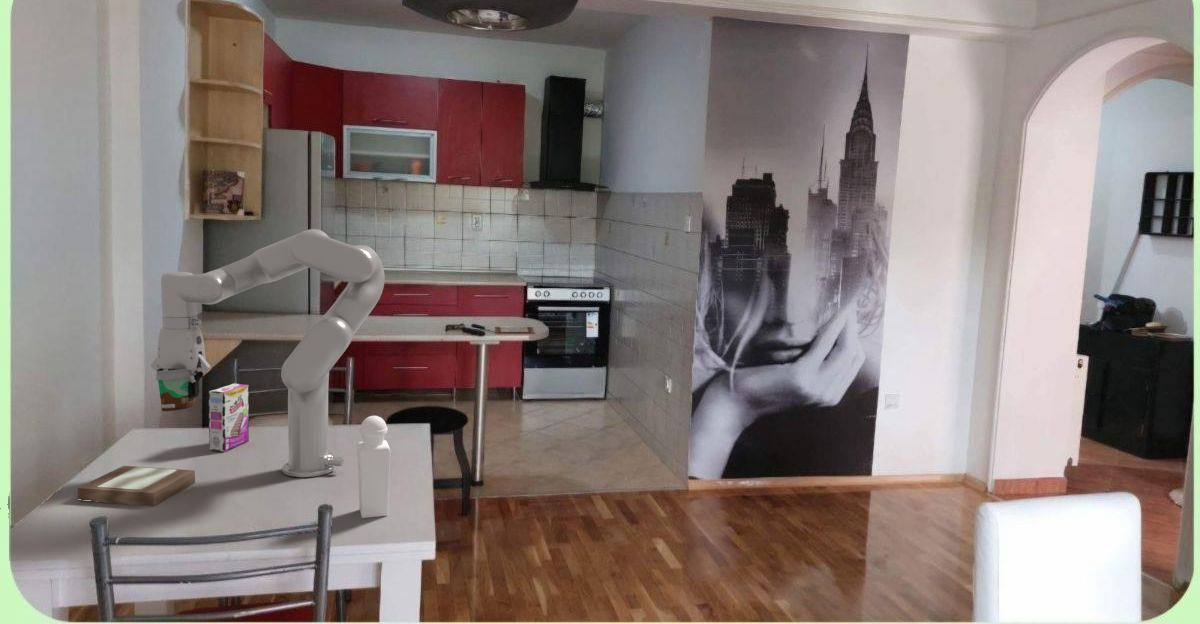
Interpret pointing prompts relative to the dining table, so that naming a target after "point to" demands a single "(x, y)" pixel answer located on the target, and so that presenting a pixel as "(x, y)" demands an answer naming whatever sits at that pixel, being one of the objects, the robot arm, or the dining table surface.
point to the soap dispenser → (373, 468)
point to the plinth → (137, 485)
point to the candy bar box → (228, 417)
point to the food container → (174, 389)
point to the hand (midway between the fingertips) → (182, 395)
